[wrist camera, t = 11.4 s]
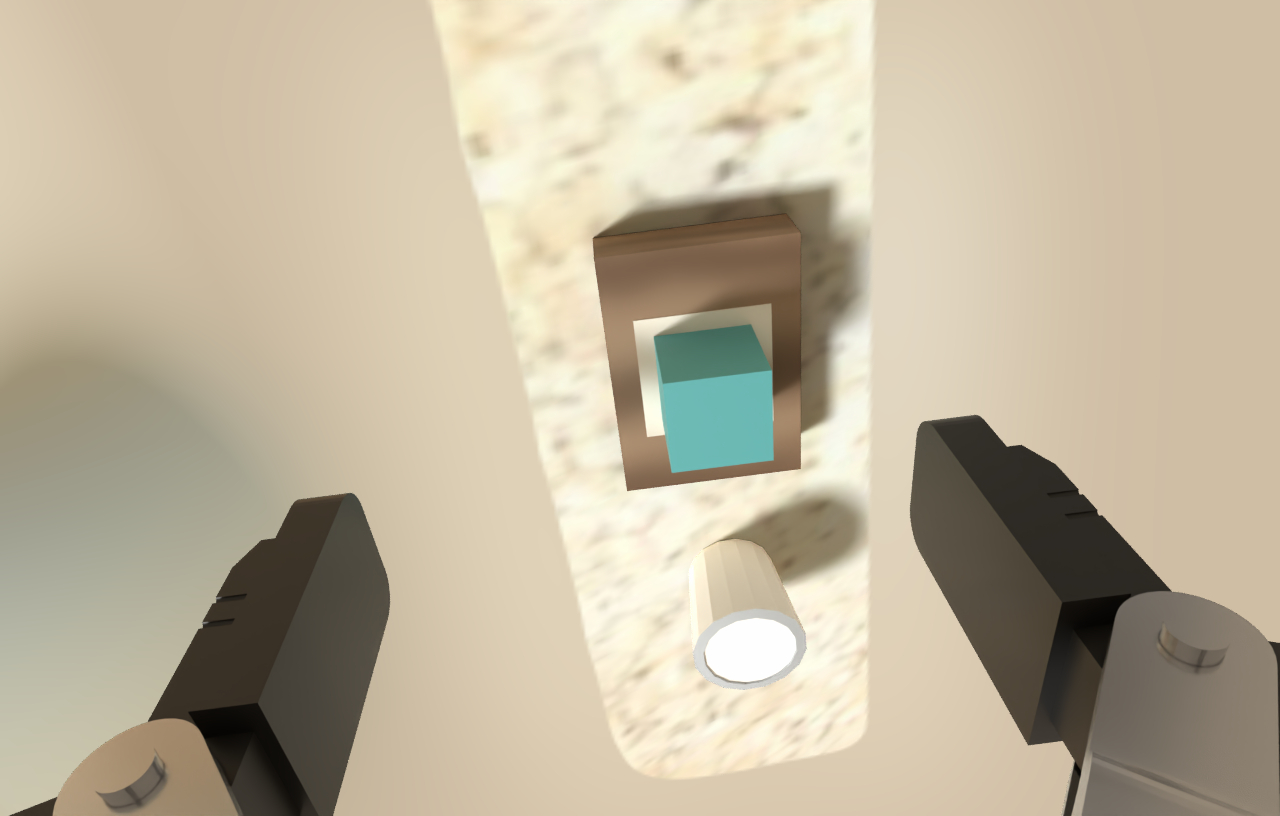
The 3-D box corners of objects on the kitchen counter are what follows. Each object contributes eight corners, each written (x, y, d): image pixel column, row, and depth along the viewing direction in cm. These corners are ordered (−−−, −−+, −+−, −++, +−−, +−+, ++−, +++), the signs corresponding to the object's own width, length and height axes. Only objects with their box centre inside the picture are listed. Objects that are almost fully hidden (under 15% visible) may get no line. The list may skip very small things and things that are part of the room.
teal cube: (653, 336, 40) (662, 383, 36) (751, 324, 40) (771, 370, 36) (662, 419, 43) (671, 473, 38) (753, 407, 43) (773, 460, 38)
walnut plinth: (592, 237, 40) (594, 258, 38) (786, 213, 40) (800, 232, 38) (624, 461, 47) (627, 491, 45) (788, 440, 47) (800, 469, 45)
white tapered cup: (787, 530, 51) (815, 608, 45) (774, 607, 55) (799, 689, 49) (682, 532, 51) (697, 611, 45) (676, 609, 54) (689, 693, 48)
